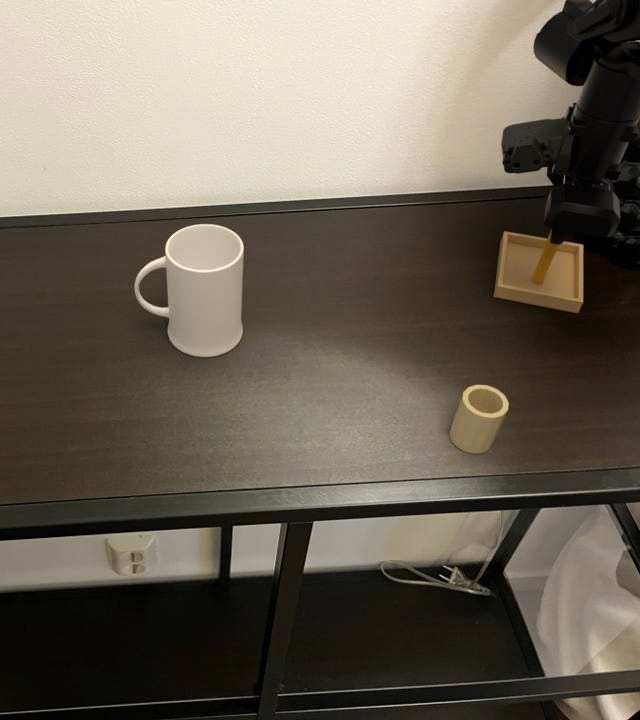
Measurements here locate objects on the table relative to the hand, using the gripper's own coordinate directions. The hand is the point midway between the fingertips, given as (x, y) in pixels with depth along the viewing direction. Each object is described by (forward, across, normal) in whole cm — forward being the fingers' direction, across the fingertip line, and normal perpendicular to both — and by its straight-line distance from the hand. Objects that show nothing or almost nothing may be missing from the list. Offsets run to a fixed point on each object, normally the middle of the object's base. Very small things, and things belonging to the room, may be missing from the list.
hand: (555, 239), depth 83 cm
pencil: (+6, 0, 0) cm, 6 cm away
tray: (+6, -2, 0) cm, 7 cm away
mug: (+7, +20, -36) cm, 42 cm away
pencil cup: (+7, +26, -5) cm, 27 cm away
